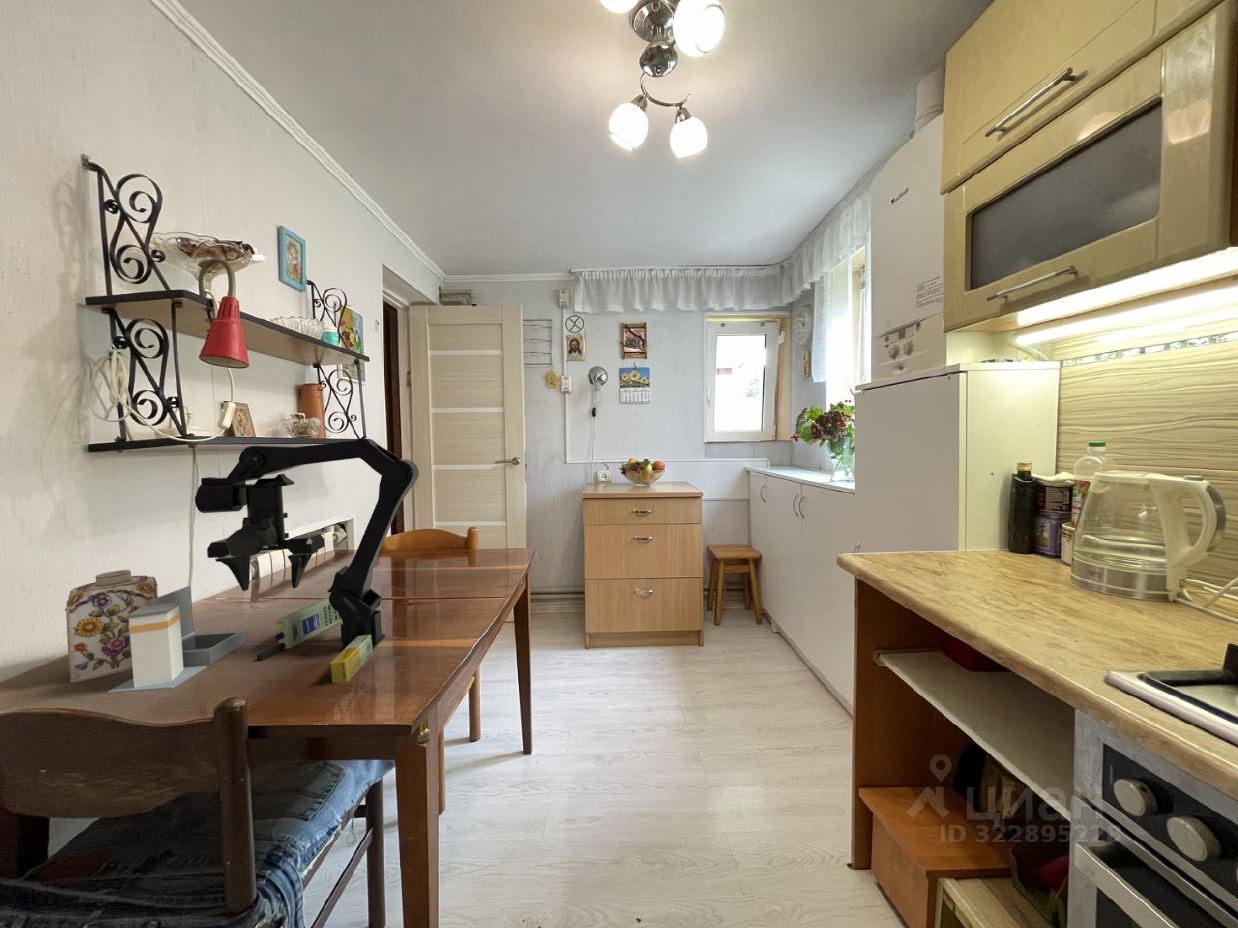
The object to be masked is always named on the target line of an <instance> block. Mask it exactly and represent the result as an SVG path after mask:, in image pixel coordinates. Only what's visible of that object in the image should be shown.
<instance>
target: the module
mask: <svg viewBox="0 0 1238 928" xmlns="http://www.w3.org/2000/svg"><path fill="white" fill-rule="evenodd" d="M179 605H180V602H174V603H166V604H159V605H151V606H143V607H141V608H139V609H137V610H136V611H134V612H133V613H131V614H129V615H128V616H127V617H128V618H129V634H130V641H131V654H132V667H133V669H132V676H133V677H132V678H133V679H134V688H136V687H142V686H147V685H153V684H158V683H164V682H170V681H173V680H174V679H175V678H176V677H177V675H178V674H179V673H180V672H181V671H182V670H183V667H184V666H183V656H182V642H181V628H180V612H179Z"/></svg>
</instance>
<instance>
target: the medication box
mask: <svg viewBox="0 0 1238 928" xmlns="http://www.w3.org/2000/svg"><path fill="white" fill-rule="evenodd" d="M372 655H374V648H373V644H372V637H371V634H367V635H360V636H357V637H356V638H355V639H354V640H353V641H352V642H351V643H350V644H349V645H348V646H347V647H346V648H345V649H344V650H343V651H341V652H340V653H339V654H337V656H336V657H335V658H333V660H332V661H331V662H329V665H330V676H331V682H332V684H339V683H348V682H349V681H351V679H352V678H353V677H354V676H355V674H356V673H358V671H359V670H360V669H361V668H362V666H364V664H366V662H367V661H369V659H370V657H372Z"/></svg>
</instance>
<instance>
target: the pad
mask: <svg viewBox="0 0 1238 928" xmlns="http://www.w3.org/2000/svg"><path fill="white" fill-rule="evenodd" d="M207 668H208V666H207V665H196V666H183V670H182V671H181V672H180V673H179V674H178V675H177V677H176V678H175V679H174V680H173V681H170V682H164V683H158V684H153V685H147V686H142V687H136V688H134V679H133V677H132V678H131V679H129V680H127V681H126V682H125V681H124V682H123V683H121V684H119V685H117V686H116V687H114V688H111V689H110V690H108V691H107V693H106V694H119V693H130V692H142V691H143V692H145V691H155V690H156V691H158V690H169V689H171V690H173V688H175V687H177V686H178V685H180V684H182V683H183V682H185V681H187V680H188V679H190V678H191V677H193V676H195V675H196V674H198V673H200V672H201V671H203V670H205V669H207Z"/></svg>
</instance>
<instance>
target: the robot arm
mask: <svg viewBox="0 0 1238 928" xmlns="http://www.w3.org/2000/svg"><path fill="white" fill-rule="evenodd" d="M354 459H361V460H362V461H363V462H364V463H365V464H366V465H368V466H369V467H370V469H372V470H373V471H375V472H376V473H378V474H379V475H381V478H380V482H379V487H378V499H377V502H376V504H375V507H374V509H373V511H372V514H371V516H370V519H369V521H368V523H367V526H366V528H365V530H364V533H363V535H362V538H361V539H360V542H359V544H358V546H357V549H356V551H355V553H354V556H353V559H352V561H351V563H350V564H349V566H348V565H344V566H343V567H341V568H340V569H339V570H337V571H336V572H335V575H334V577H333V582H332V585H331V586H330V587H329V589H327V590H326V591H327V593H328V594H329V593H330V594H329V595H328V596H329V603H330V604H331V606H332V608H333V609H334V610H336V611H338V613H339V615H340V617H341V619H342V620H341V621H342V623H341V624H340V636H341V638H340V639H341V645H342V646H341V647H340V649H339V650H340V651H341V652H342V651H343V650H344V649H345V648H346V647H347V646H348V645H349V644H350V643H351V642H352V641H353V640H354V639H355V638H356V637H357V636H360V635H367V634H371V637H372V644H373V649H375V648H376V647H377V646H378V645H379V644H380V643H381V641H383V640H384V639H385V638H386V633H383V630H382V629H383V628H382V612H381V611H382V610H377V609H378V608H379V607H380V605H381V602H382V599H383V597H382V595H380V594H379V593H377V592H376V591H375V590H373V588H371V586H372V582H373V575H374V574H373V573H374V565H375V564H376V563H375V562H376V561H377V559H378V556H379V554H380V552H381V549H382V547H383V545H384V542H385V539H386V537H387V535H388V533H389V530H390V528H391V526H392V522H393V521H394V519H395V516H396V513H397V511H398V509H399V506H400V504H401V503H402V502H403V500H404V499H405V498H406V496H407V495H408V493H410V491H411V489H412V488H413V486H414V485H415V483H416V482H417V480H418V478H419V475H420V474H419V473H420V470H419V468H418V466H417V465H416V464H415V462H413V461H412V460H410V459H406V458H405V459H402V458H400V457H399V456H398V455H396V454H394V453H392V452H391V451H389V450H387V449H386V448H384V447H383V446H381V445H379V444H378V443H377V442H376V441H375V440H374V439H372V438H365V437H364V438H361V437H360V438H358V439H355V440H354V439H353V440H346V441H345V440H344V441H337V442H328V443H321V444H313V445H312V444H311V445H303V446H285V445H283V446H280V445H279V446H278V445H250V446H247V447H245V448H243V450H242V451H241V453H240V454H239V457H238V463H237V464H236V465H235V466H234V467H233V469H232V470H231V472H230V473H229V474H228V475H227V477H216V476H211V477H202V478H201V479H200V480H201V484H200V485H199V486H198V487H197V490H196V493H195V496H194V503H195V506H196V509H197V510H198V511H199V512H200V513H201V514H210V513H211V514H213V513H214V514H215V513H231V512H232V513H233V512H240V511H241V510H242V509H243V508H244V507H245V506H246V512H247V515H246V517H242V521H241V525H242V526H241V528H240V529H238V530H236V531H235V532H233V533H232V534H231V535H229V536H228V537H226V538H222V539H220V540H216V541H212V542H210V543H209V545H208V547H207V549H206V555H207V558H209V559H214V558H215V559H214V560H215V562H216V563H217V562H218V563H221V564H223V565H226V566H227V567H228V568H229V570H230V571H231V573H232V574H233V576H234V578H235V579H236V581H237V583H238V585H239V587H240V589H241V590H242V591H243V592H247V591H248V590H249V587H250V582H251V581H250V579H251V578H250V577H251V575H250V574H251V556H255V555H257V554H259V553H260V552H261V551H277V550H278V551H279V550H288V551H289V552H290V553H291V554H288V555H287V558H288V560H289V561H290V564H291V565H290V569H291V586H292V589H296V588H298V587H299V585H300V582H301V579H302V577H303V575H304V572H305V570H306V568H307V566H308V563H309V561H310V559H311V558H312V556H313V555H314V554H315V553H318V552H319V550H321V549H323V548H326V547H325V545H326V543H325V538H324V536H323V535H322V534H321V533H314V534H313V533H310V534H301V535H298V536H295V537H292V538H290V534H289V532H285V519H287V518H289V515H288V512H284V500H283V498H284V497H283V487H289V486H293V485H295V481H294V480H292V479H291V478H289V477H288V476H287V475H286V474H285V473H283V472H286V471H289V470H292V469H294V468H298V467H301V466H304V465H312V464H319V463H328V462H337V461H344V460H345V461H346V460H354ZM281 472H282V473H281ZM274 474H277V475H276V476H275V477H265V476H268V475H274ZM264 477H265V478H264ZM248 481H255V483H251V484H250V483H247V482H248ZM246 483H247V484H246Z"/></svg>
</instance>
